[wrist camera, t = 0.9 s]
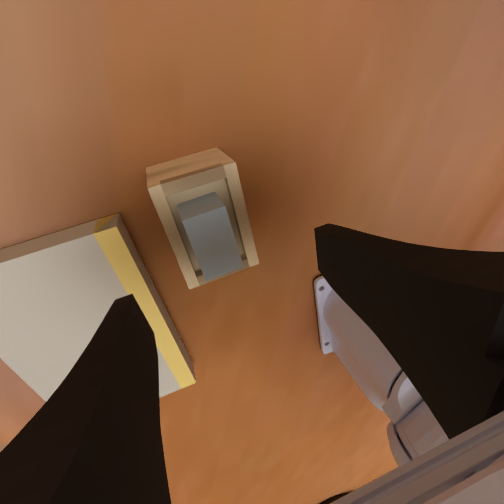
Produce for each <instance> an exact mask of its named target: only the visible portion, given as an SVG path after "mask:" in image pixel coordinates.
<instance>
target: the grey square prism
mask: <svg viewBox="0 0 504 504" xmlns="http://www.w3.org/2000/svg"><path fill="white" fill-rule="evenodd" d="M177 208H178V211H179V214H180V217H181V221H182V223H183V226H184V228H185V231H186V233H187V236H188V238H189V241H190V243H191V246H192V248H193V250H194V253H195V255H196V258H197V260H198V263H199V265H200V268H201V270H202V273H203V275H204V278H205V280H206V281H208V280H211V279H213V278H216V277H218V276H221V275H224V274H226V273H229V272H231V271H234V270H236V269H239V268H241V267H244V266H243V263H242V259H241V256H240V253H239V250H238V246H237V243H236V240H235V236H234V233H233V230H232V227H231V223H230V220H229V217H228V213H227V210H226V207H225V205H224V204H223V202H222V201H221V199H220V198H219V197H218V195H217V194H216V193H215V191H214V192H211V193H209V194H206V195H203V196H200V197H197V198H194V199H191V200H188V201H185V202H182V203H179V204H177Z"/></svg>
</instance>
